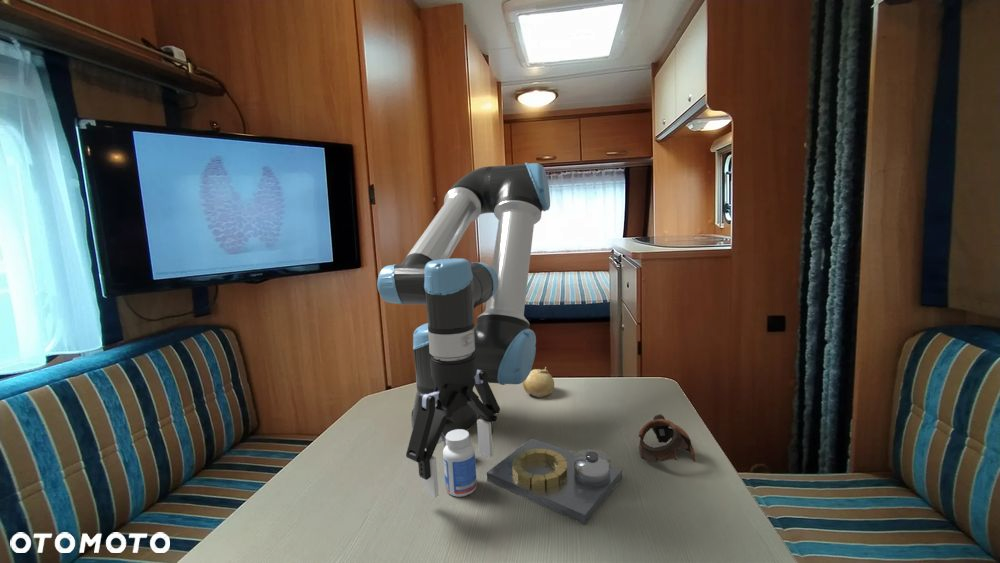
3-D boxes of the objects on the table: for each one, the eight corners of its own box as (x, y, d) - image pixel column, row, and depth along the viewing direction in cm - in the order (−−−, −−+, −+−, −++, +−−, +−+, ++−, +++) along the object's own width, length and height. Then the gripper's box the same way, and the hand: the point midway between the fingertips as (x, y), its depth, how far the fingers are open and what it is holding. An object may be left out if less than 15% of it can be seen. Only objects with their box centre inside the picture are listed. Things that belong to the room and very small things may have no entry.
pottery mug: (707, 473, 76) (691, 442, 73) (657, 491, 78) (639, 461, 76) (683, 425, 87) (668, 396, 84) (640, 442, 89) (623, 414, 87)
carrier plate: (487, 480, 76) (485, 452, 75) (531, 445, 87) (530, 420, 86) (585, 524, 64) (584, 491, 64) (622, 477, 75) (622, 449, 74)
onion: (532, 403, 106) (531, 375, 105) (518, 391, 114) (517, 366, 112) (560, 396, 110) (559, 369, 109) (544, 385, 117) (543, 360, 116)
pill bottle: (482, 482, 76) (480, 430, 74) (466, 501, 71) (463, 445, 69) (456, 475, 78) (453, 424, 77) (439, 492, 73) (435, 439, 72)
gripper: (408, 383, 59) (419, 524, 62) (516, 338, 78) (520, 446, 81) (375, 373, 63) (387, 504, 67) (484, 332, 83) (489, 435, 86)
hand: (460, 473), depth 74 cm, fingers open, 13 cm apart
